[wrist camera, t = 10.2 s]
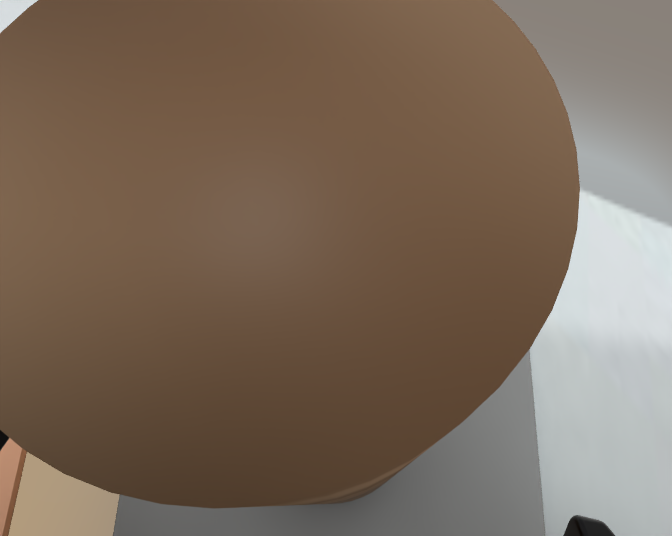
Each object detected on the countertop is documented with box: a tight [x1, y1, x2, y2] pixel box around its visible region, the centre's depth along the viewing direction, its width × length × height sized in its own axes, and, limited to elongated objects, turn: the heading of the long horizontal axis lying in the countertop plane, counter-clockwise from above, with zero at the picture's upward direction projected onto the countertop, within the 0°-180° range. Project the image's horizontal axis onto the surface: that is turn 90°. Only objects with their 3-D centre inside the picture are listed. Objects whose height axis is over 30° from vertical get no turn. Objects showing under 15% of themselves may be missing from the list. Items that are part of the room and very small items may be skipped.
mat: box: [113, 351, 545, 536], centre depth 17 cm, size 14×12×1 cm
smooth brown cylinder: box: [0, 0, 580, 509], centre depth 11 cm, size 5×5×14 cm
